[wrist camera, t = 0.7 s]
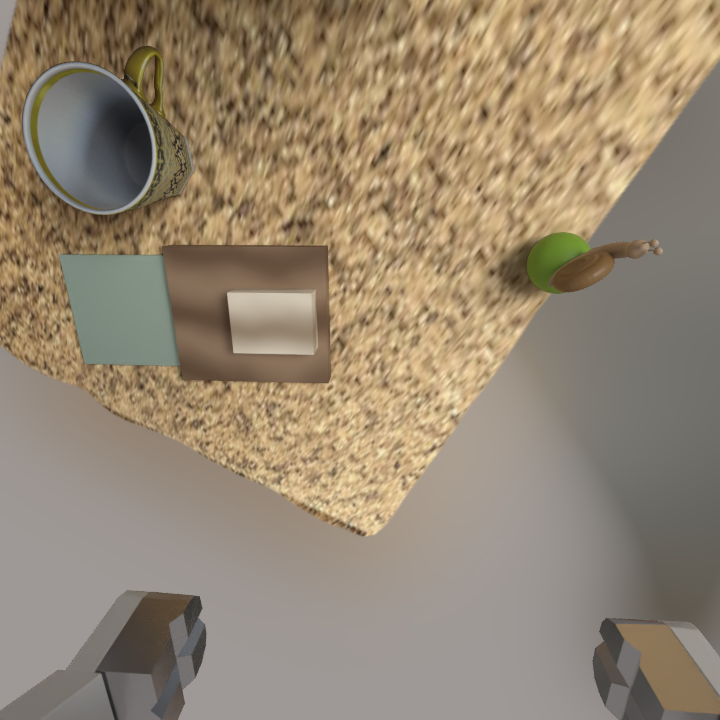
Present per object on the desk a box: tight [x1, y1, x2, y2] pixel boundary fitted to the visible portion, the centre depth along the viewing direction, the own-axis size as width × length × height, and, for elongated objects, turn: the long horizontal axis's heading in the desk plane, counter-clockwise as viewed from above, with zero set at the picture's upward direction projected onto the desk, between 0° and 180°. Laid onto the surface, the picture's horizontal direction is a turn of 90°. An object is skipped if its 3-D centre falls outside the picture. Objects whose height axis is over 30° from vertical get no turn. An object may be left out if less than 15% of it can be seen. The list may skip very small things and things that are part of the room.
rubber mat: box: [59, 254, 180, 366], centre depth 44 cm, size 12×12×1 cm
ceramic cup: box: [22, 46, 194, 215], centre depth 34 cm, size 13×10×10 cm
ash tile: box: [227, 288, 318, 355], centre depth 40 cm, size 6×8×2 cm
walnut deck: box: [162, 245, 331, 383], centre depth 43 cm, size 14×16×2 cm
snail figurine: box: [527, 232, 663, 294], centre depth 34 cm, size 5×6×12 cm
